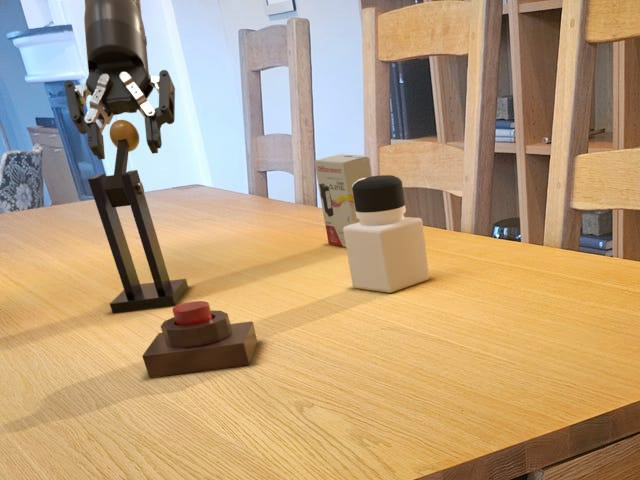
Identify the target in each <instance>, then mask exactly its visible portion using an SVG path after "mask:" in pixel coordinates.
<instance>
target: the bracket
mask: <svg viewBox="0 0 640 480" xmlns="http://www.w3.org/2000/svg"><path fill="white" fill-rule="evenodd" d="M106 176H107V175H106V173H100V174H95V175H94V176H91V177H90V178H88V179H87V181H88V185H89V187H90V190H91V194H92V198H93V199H94V202H95V206H96V208H97V211H98V215H99V218H100V221H101V224H102V227H103V230H104V233H105V236H106V239H107V243H108V245H109V249H110V251H111V254H112V257H113V261H114V263H115V266H116V270H117V273H118V275H119V279H120V282H121V284H122V288H123V290H122V291H121V292H120V293H118V295H117V296H116V297H115V298H114V299H113V300H111V302H110V303H109V306H110V309H111V312H112V314H118V313H119V314H120V313H126V312H135V311H136V312H137V311H143V310H151V309H160V308H168V307H175V306H177V304H178V302H179V301H180V300H181V298H182V297H183V295H185V293H186V292H187V290H188V288H189V284H188V281H187V278H178V279H171V280H170V276H169V273H168V269H167V266H166V263H165V259H164V256H163V253H162V249H161V245H160V243H159V239H158V235H157V232H156V228H155V225H154V221H153V218H152V215H151V212H150V209H149V205H148V201H147V198H146V195H145V188H144V185H143V183H142V181H141V177H140V175H139V172H138V170H137V169H133V170H128V171H126V173H125V174H123V175H121V177H122V180H123V183H124V187H125V190H126V193H127V196H128V200H129V203H130V206H129V207H130V210H131V213H132V216H133V219H134V222H135V225H136V229H137V232H138V235H139V239H140V241H141V245H142V249H143V252H144V255H145V258H146V262H147V265H148V267H149V272H150V274H151V277H152V281H153V282H146V283H140V280H139V276H138V273H137V270H136V267H135V264H134V261H133V258H132V254H131V250H130V248H129V245H128V241H127V238H126V235H125V231H124V229H123V226H122V223H121V219H120V216H119V213H118V211H117V207H114V208H113V207H112V205H111V203H110V201H109V199H108V197H107V194H106V192H105V190H104V188H105V180H106Z"/></svg>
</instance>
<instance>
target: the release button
mask: <svg viewBox="0 0 640 480" xmlns="http://www.w3.org/2000/svg"><path fill="white" fill-rule="evenodd" d="M171 311H172V314H173V317H175V321H176V324H177V326H189V325H196V324H201V323H205V322H208V321H210V320H212V319H213V317H212V314H211V307H210V303H209V302H208V301H205V300H195V301H189V302H184V303H180V304H176V305H175V306H173V307H172V310H171Z"/></svg>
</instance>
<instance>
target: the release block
mask: <svg viewBox="0 0 640 480" xmlns="http://www.w3.org/2000/svg"><path fill="white" fill-rule="evenodd" d="M210 310H211V309H210ZM211 314H212V317H213V319H212V320H210V321H208V322H205V323H201V324H196V325H189V326H177V324H176V321H175V317H174V316H173V317H170V318H168V319H166V320H164V321H163V322H162V323H161V325H160V330H161V332H158V333H157V335H155V337H154V339H153V340H152V342H151V343H150V344H149V346H148V347H147V348H146V350H145V351H144V353H142V355H141V356H142V360H143V362H144V366H145V369H146V372H147V375H148V378H150V379H151V378H157V377H165V376H173V375H181V374H191V373H196V372H204V371H213V370H220V369H228V368H236V367H243V366H249V365H250V364H251V361H252V359H253V356H254V353H255V350H256V347H257V344H258V338H257V337H258V336H257V333H256V330H255V325H254V321H251V320H250V321H244V322H235V323H231V321H230V317H229V313H227V312H225V311H223V310H211Z"/></svg>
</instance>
